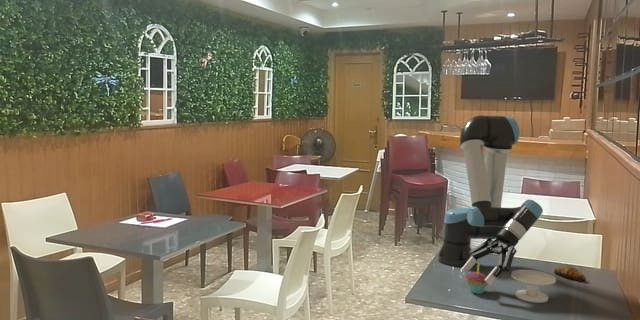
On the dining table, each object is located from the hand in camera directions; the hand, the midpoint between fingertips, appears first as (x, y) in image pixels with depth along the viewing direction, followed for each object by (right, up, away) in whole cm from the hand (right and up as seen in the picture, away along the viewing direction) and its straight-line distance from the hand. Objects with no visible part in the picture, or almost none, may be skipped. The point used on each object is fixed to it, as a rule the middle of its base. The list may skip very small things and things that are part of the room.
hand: (474, 276), depth 200 cm
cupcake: (+1, -6, +2) cm, 6 cm away
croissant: (+46, -6, +25) cm, 52 cm away
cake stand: (+20, -7, -2) cm, 21 cm away
